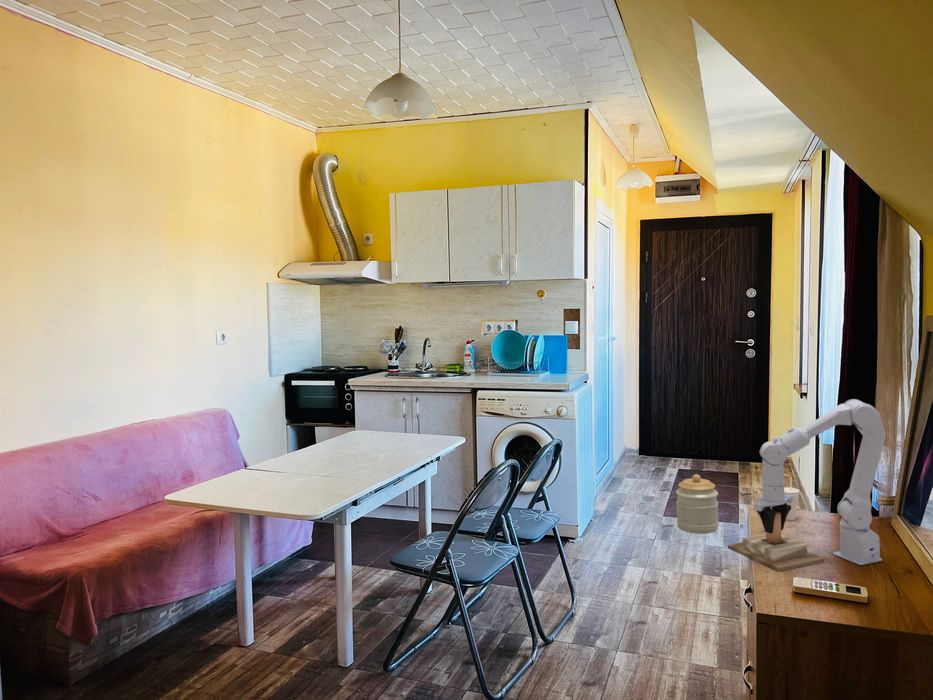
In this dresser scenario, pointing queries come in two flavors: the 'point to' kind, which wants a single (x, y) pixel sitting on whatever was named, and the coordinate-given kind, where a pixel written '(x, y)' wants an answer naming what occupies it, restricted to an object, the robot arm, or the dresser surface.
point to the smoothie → (795, 494)
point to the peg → (775, 530)
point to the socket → (776, 552)
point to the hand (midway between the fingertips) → (773, 530)
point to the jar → (697, 506)
